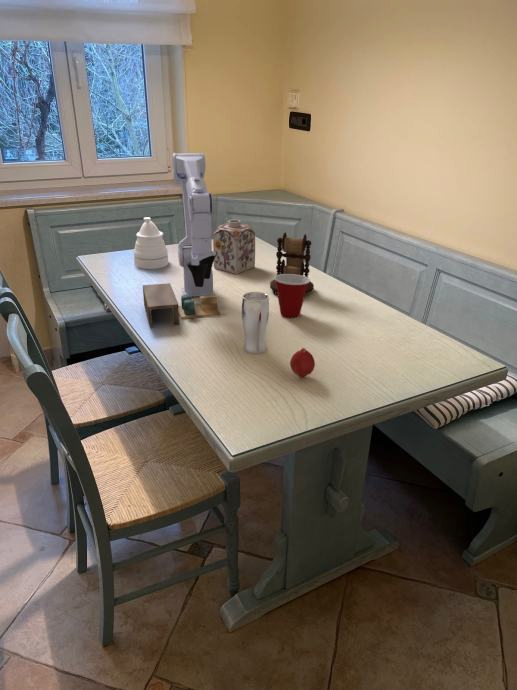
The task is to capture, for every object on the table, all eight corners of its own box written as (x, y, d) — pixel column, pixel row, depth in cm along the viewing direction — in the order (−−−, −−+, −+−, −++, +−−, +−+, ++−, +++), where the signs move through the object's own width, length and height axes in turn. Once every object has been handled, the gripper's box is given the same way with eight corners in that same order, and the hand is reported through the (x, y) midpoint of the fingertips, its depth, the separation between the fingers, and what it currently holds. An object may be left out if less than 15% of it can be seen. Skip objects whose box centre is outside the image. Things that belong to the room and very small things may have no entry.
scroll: (316, 286, 184) (320, 230, 175) (308, 301, 171) (312, 241, 162) (275, 282, 187) (277, 226, 178) (265, 296, 174) (266, 236, 166)
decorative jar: (232, 261, 208) (232, 215, 200) (255, 267, 202) (256, 220, 194) (212, 268, 199) (211, 221, 191) (236, 275, 193) (236, 226, 185)
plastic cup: (313, 311, 163) (315, 274, 158) (300, 324, 155) (303, 285, 149) (280, 305, 167) (282, 269, 162) (267, 317, 159) (268, 279, 153)
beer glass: (264, 356, 136) (266, 302, 129) (238, 353, 137) (239, 299, 130) (269, 344, 142) (271, 292, 135) (244, 342, 143) (245, 290, 136)
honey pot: (165, 269, 198) (162, 221, 190) (131, 268, 198) (126, 220, 190) (170, 259, 209) (168, 213, 201) (138, 258, 209) (134, 212, 201)
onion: (288, 371, 129) (289, 342, 126) (311, 370, 130) (313, 341, 126) (291, 383, 124) (293, 353, 120) (315, 382, 124) (317, 352, 121)
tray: (213, 305, 167) (213, 290, 165) (220, 316, 160) (220, 300, 158) (176, 309, 164) (175, 294, 162) (181, 320, 156) (180, 304, 154)
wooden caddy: (171, 302, 168) (170, 283, 165) (179, 325, 152) (178, 304, 149) (144, 304, 166) (142, 285, 163) (149, 327, 150) (148, 306, 147)
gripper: (208, 243, 142) (209, 291, 148) (221, 231, 155) (221, 276, 161) (183, 242, 143) (185, 289, 149) (197, 230, 156) (199, 274, 162)
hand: (202, 282), depth 155 cm, fingers open, 7 cm apart
